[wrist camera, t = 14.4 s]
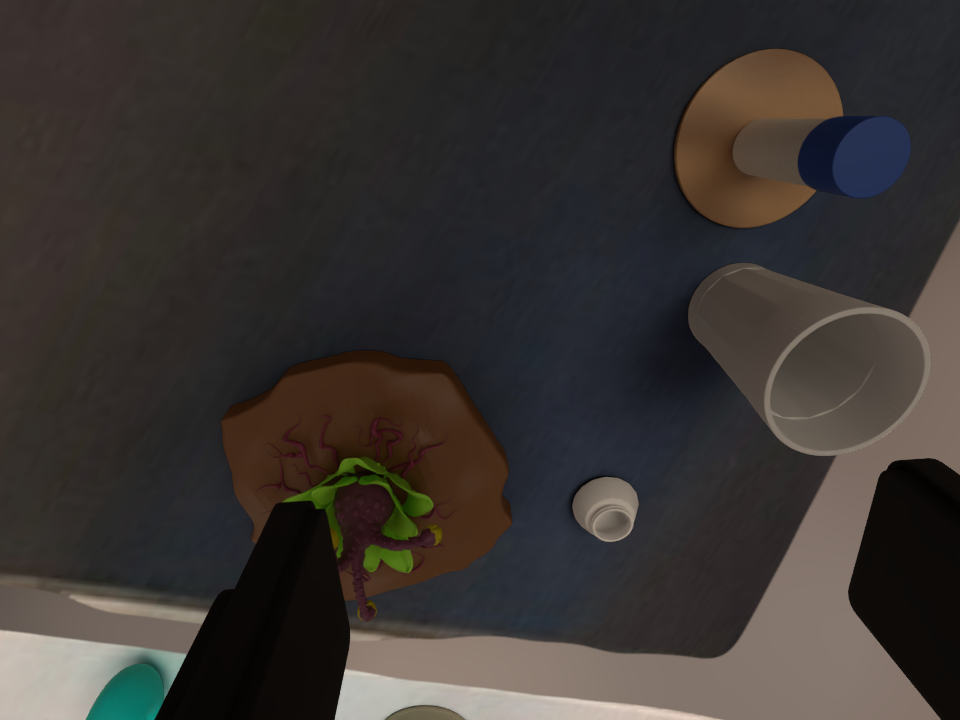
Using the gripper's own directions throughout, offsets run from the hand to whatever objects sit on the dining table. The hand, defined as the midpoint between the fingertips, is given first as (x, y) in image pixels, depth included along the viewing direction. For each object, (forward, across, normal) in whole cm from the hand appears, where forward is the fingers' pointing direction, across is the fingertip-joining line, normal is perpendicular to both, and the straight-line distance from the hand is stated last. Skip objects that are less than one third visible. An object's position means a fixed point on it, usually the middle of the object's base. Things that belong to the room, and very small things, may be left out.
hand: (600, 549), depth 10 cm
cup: (+28, -16, +6) cm, 33 cm away
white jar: (+28, -8, +21) cm, 36 cm away
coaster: (+28, -16, -4) cm, 33 cm away
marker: (+28, -16, -4) cm, 32 cm away
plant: (+28, +10, +17) cm, 35 cm away
